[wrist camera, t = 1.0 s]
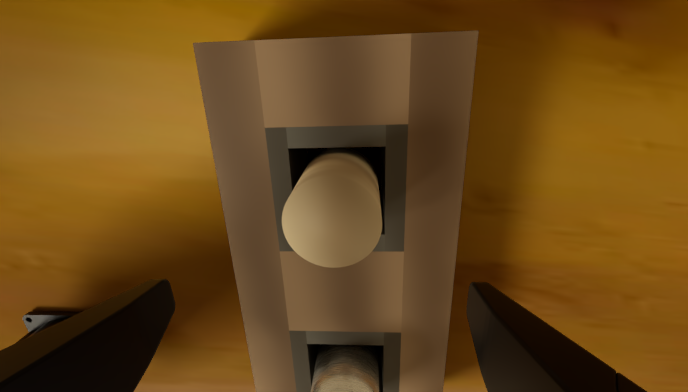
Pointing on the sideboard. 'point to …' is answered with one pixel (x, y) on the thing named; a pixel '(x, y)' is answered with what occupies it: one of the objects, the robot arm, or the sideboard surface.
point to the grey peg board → (396, 198)
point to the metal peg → (346, 369)
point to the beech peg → (334, 209)
